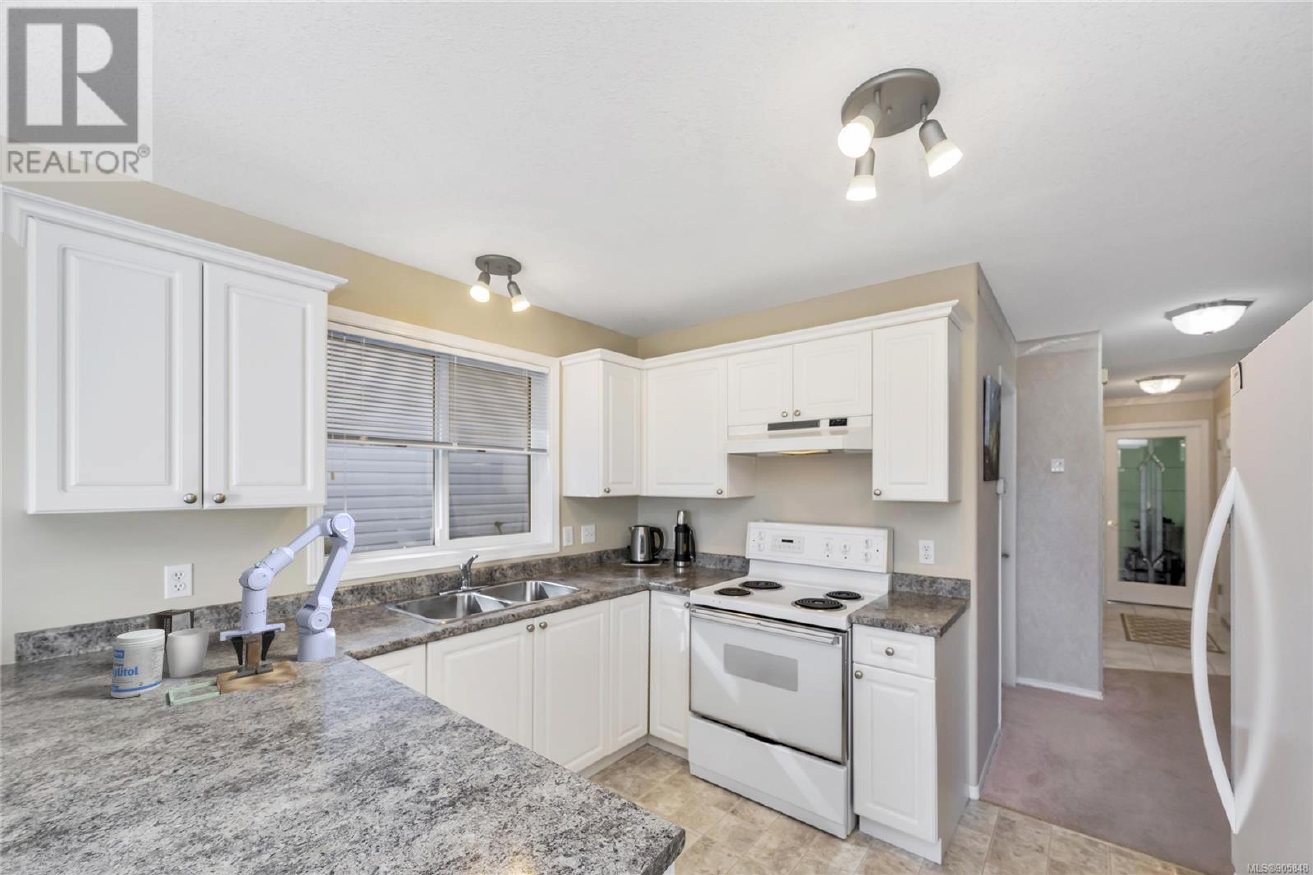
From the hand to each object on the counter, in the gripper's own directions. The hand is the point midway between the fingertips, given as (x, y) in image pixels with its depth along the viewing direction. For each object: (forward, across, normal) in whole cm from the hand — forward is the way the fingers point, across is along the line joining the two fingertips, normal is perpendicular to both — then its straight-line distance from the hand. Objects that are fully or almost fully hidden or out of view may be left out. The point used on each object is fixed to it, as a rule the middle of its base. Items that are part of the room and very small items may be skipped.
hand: (251, 662), depth 154 cm
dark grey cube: (+3, -2, -9) cm, 10 cm away
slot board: (+4, 0, -9) cm, 10 cm away
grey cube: (+3, +2, -9) cm, 10 cm away
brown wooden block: (+4, 0, 0) cm, 4 cm away
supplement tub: (+4, -23, +7) cm, 24 cm away
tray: (+4, -13, -9) cm, 16 cm away
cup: (+4, -13, +13) cm, 19 cm away
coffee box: (+4, -16, +25) cm, 30 cm away
